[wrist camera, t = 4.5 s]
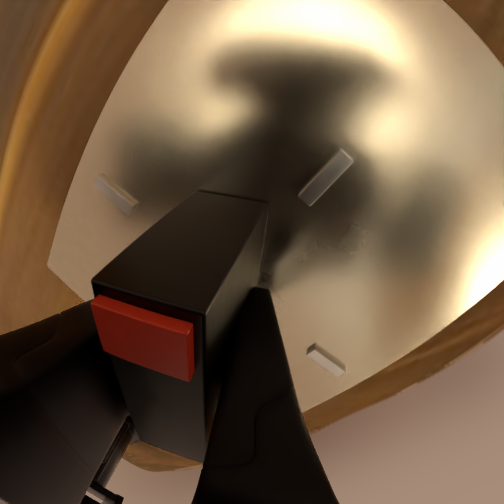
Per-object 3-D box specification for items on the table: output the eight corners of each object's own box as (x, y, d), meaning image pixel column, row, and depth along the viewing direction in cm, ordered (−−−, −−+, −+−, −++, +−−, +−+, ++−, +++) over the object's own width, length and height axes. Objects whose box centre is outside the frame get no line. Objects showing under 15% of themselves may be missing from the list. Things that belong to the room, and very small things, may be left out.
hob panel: (277, 378, 14) (263, 433, 12) (89, 232, 13) (43, 267, 10) (530, 171, 7) (582, 203, 5) (287, -62, 6) (267, -111, 3)
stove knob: (248, 354, 10) (204, 473, 6) (193, 340, 10) (135, 447, 6) (268, 202, 7) (199, 326, 4) (194, 190, 8) (78, 288, 4)
